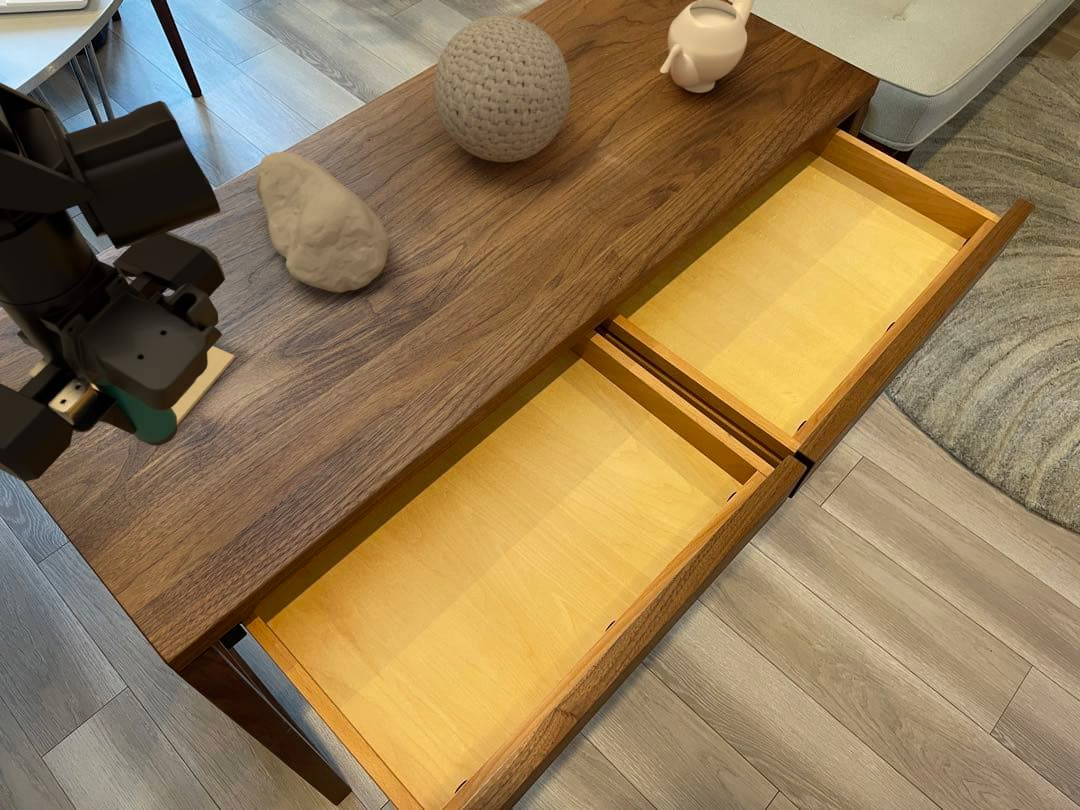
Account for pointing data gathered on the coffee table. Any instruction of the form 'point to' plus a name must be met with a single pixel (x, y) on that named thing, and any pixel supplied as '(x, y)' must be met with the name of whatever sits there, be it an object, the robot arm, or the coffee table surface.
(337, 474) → the coffee table surface
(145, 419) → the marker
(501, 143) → the decorative ball
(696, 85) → the teapot
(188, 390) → the sketch card
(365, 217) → the decorative stone
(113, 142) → the robot arm
